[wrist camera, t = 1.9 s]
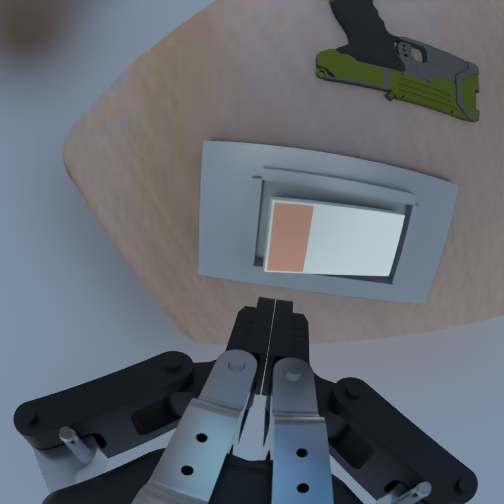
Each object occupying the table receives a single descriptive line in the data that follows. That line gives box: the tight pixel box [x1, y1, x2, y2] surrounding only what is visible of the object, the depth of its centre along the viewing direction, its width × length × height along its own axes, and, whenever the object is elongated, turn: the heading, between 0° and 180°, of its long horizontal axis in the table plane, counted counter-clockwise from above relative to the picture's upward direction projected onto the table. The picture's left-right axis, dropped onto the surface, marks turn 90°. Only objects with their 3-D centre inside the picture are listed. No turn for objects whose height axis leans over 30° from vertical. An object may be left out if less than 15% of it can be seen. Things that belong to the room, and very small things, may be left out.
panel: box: [199, 141, 459, 304], centre depth 25 cm, size 26×14×4 cm, turn 85°
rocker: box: [263, 197, 405, 276], centre depth 22 cm, size 12×6×1 cm, turn 85°
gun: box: [316, 0, 479, 122], centre depth 18 cm, size 2×19×15 cm
